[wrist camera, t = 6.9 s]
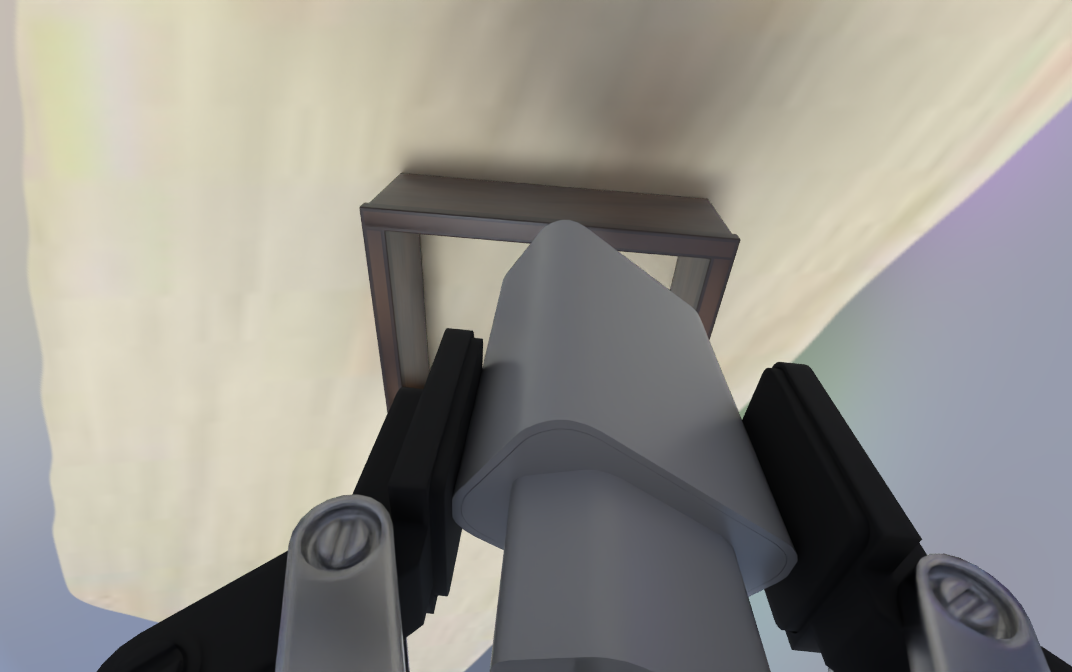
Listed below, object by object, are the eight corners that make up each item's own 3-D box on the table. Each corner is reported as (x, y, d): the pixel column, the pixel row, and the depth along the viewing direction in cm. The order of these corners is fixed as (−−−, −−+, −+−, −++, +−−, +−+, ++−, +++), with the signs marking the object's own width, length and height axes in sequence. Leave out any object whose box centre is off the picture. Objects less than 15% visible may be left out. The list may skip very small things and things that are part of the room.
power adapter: (635, 388, 15) (757, 1095, 6) (490, 294, 14) (291, 1050, 4) (712, 322, 14) (1067, 1124, 4) (559, 207, 12) (521, 1074, 2)
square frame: (398, 170, 25) (358, 206, 21) (710, 196, 25) (741, 239, 20) (417, 394, 33) (392, 455, 29) (653, 416, 33) (666, 482, 29)
